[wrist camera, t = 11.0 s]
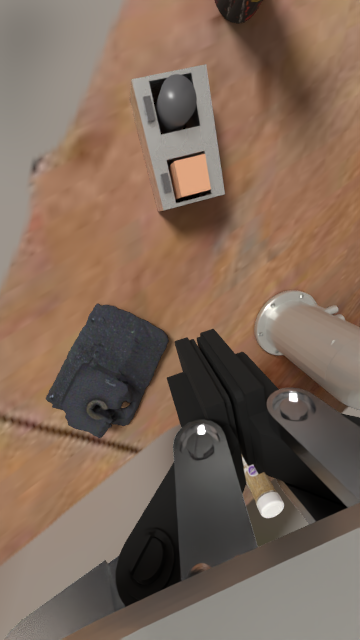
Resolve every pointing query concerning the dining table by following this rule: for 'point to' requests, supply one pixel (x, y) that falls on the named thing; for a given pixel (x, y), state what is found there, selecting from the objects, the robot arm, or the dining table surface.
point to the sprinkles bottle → (263, 492)
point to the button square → (189, 176)
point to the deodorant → (237, 9)
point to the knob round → (175, 103)
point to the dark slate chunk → (107, 370)
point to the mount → (176, 136)
